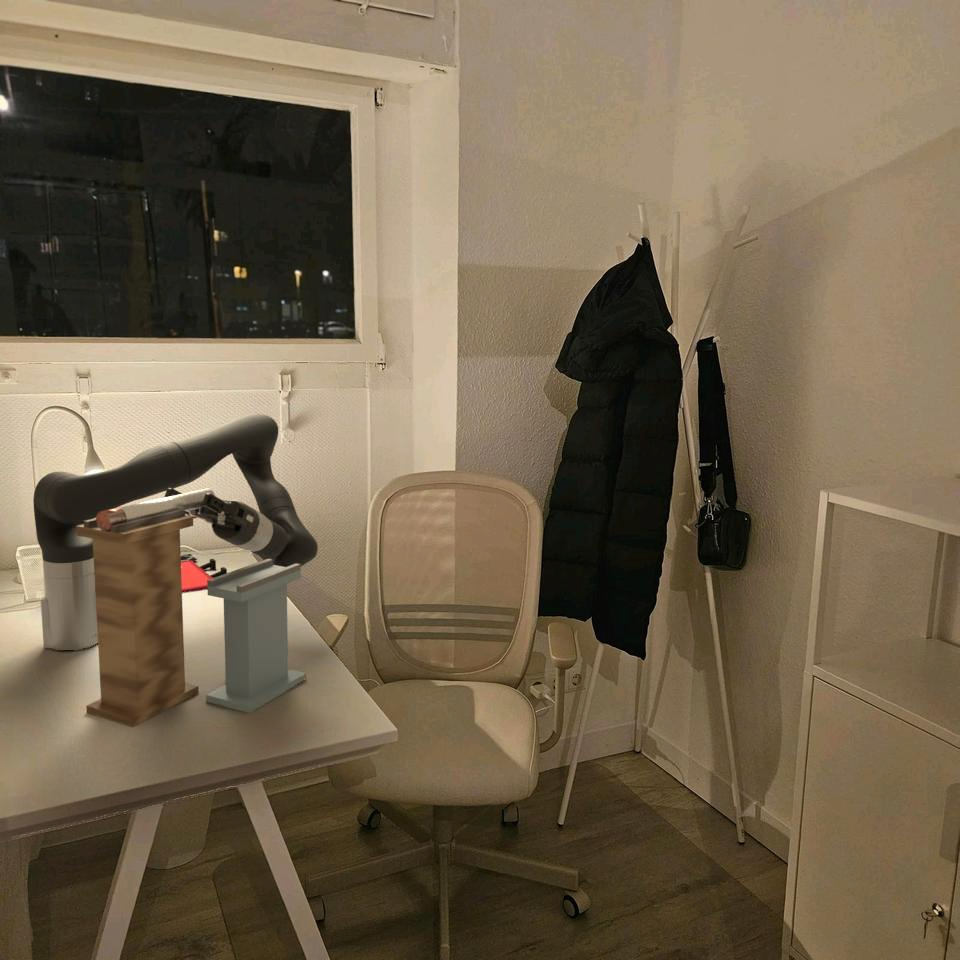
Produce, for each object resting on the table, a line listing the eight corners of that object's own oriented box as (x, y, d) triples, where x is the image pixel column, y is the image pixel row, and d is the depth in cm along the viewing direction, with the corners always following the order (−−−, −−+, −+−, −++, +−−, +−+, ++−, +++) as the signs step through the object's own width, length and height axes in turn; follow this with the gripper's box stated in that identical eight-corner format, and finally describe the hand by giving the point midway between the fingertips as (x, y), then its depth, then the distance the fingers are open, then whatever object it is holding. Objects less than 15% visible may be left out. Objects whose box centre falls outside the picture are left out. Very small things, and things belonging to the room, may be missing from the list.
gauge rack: (249, 713, 133) (246, 587, 129) (206, 701, 137) (202, 579, 133) (306, 679, 146) (305, 565, 143) (265, 669, 150) (263, 557, 146)
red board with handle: (197, 556, 223) (139, 564, 214) (196, 546, 222) (138, 554, 214) (235, 586, 199) (171, 598, 191) (235, 575, 199) (171, 586, 190)
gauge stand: (132, 726, 127) (123, 527, 122) (86, 712, 132) (75, 519, 126) (198, 692, 140) (192, 510, 134) (154, 680, 144) (147, 503, 139)
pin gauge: (105, 534, 124) (113, 520, 123) (93, 522, 124) (100, 507, 123) (210, 508, 143) (217, 495, 142) (199, 497, 144) (206, 484, 143)
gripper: (220, 503, 158) (162, 471, 144) (280, 512, 152) (226, 479, 138) (207, 540, 155) (146, 511, 141) (267, 550, 149) (211, 521, 135)
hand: (186, 495), depth 140 cm, fingers open, 8 cm apart
